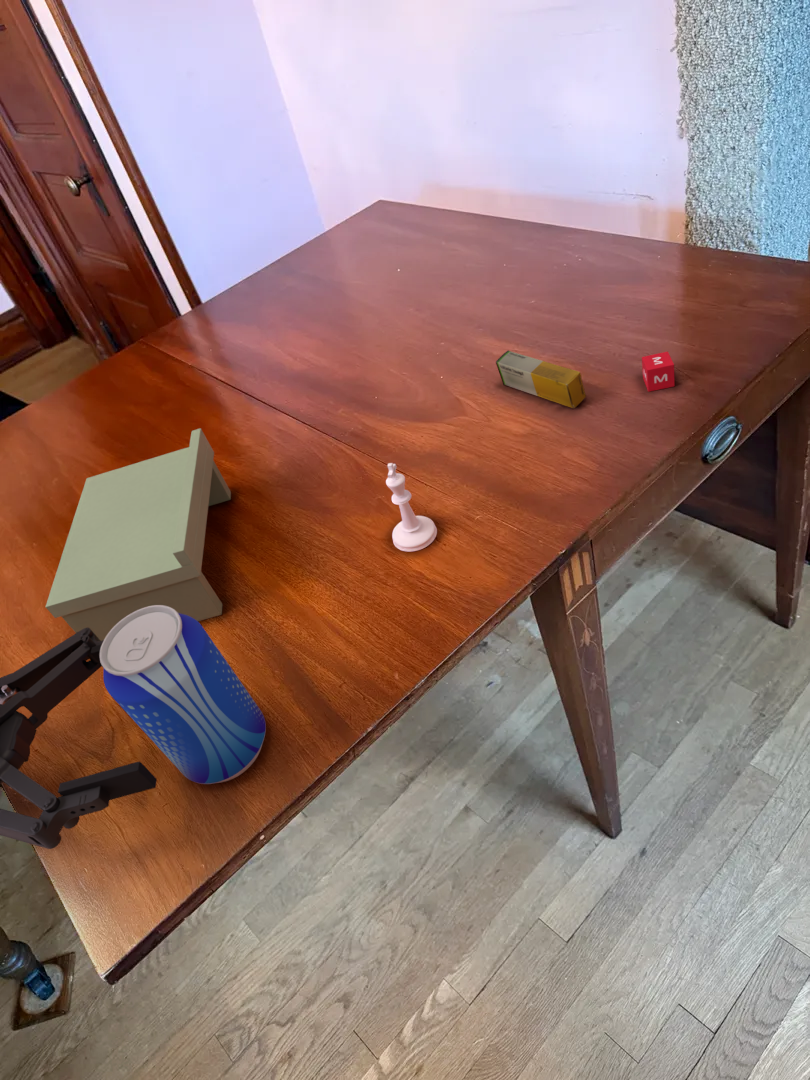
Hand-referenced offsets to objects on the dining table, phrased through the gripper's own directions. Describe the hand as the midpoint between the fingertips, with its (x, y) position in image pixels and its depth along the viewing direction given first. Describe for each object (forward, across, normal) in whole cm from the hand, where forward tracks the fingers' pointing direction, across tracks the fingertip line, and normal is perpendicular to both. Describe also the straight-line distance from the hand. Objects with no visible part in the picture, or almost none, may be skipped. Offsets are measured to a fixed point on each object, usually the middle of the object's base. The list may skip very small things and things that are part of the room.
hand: (158, 701), depth 62 cm
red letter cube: (+55, -34, -9) cm, 66 cm away
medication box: (+42, -39, -9) cm, 59 cm away
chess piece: (+23, -20, -9) cm, 32 cm away
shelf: (-6, -28, -8) cm, 30 cm away
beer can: (+2, 0, -9) cm, 9 cm away
